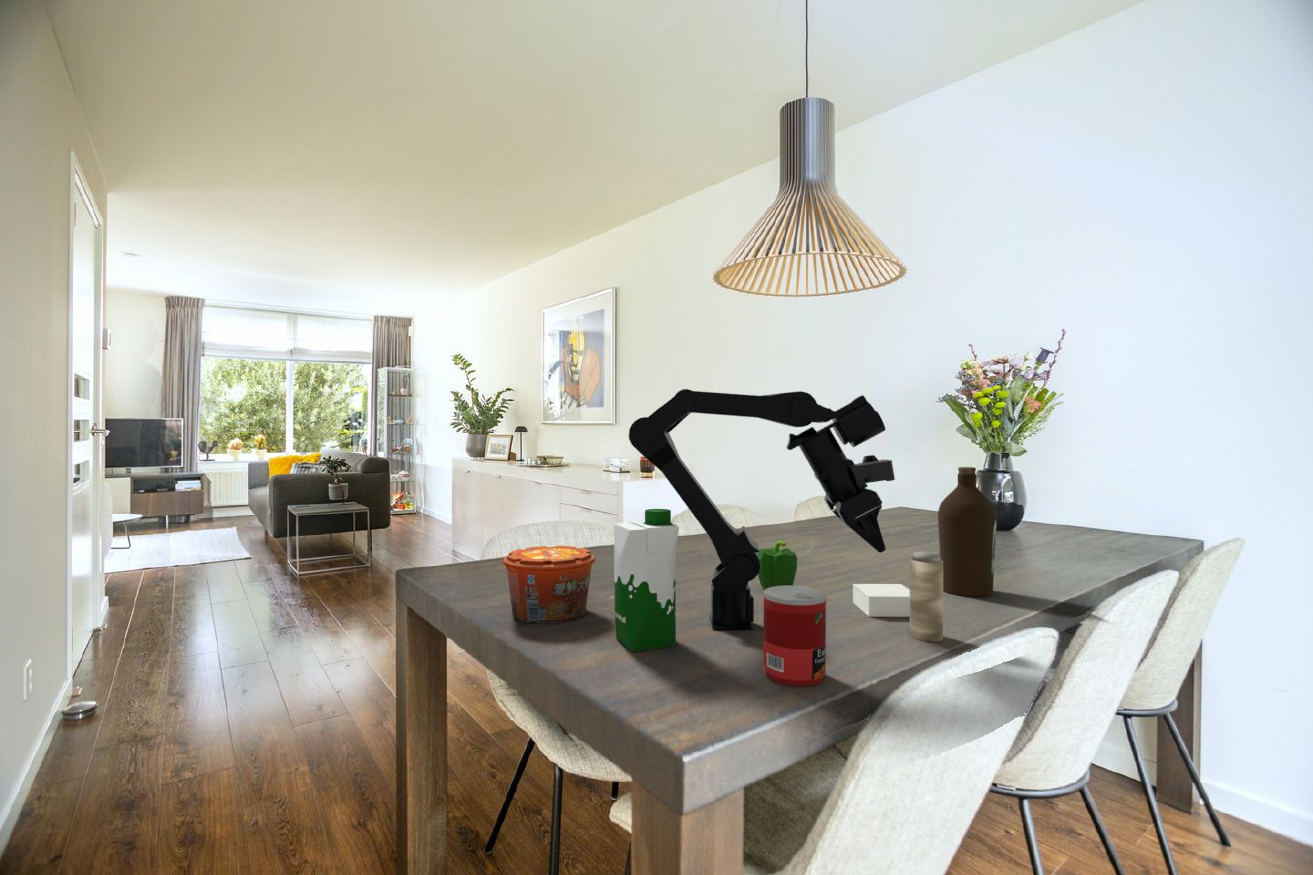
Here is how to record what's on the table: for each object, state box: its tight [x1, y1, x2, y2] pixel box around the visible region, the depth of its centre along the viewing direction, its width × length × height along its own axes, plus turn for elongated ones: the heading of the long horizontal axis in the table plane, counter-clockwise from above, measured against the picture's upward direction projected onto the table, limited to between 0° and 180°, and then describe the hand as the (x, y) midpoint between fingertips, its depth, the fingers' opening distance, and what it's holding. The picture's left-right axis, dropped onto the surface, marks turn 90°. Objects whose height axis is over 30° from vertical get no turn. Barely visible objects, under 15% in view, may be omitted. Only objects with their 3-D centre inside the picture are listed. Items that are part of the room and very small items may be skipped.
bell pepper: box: [757, 540, 798, 590], centre depth 128 cm, size 8×8×10 cm
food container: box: [502, 545, 596, 624], centre depth 110 cm, size 16×16×11 cm
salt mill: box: [909, 550, 944, 643], centre depth 97 cm, size 5×5×13 cm
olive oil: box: [937, 466, 998, 598], centre depth 125 cm, size 11×11×25 cm
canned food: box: [763, 585, 827, 688], centre depth 82 cm, size 8×8×11 cm
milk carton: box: [613, 508, 680, 653], centre depth 95 cm, size 9×9×20 cm
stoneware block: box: [852, 583, 910, 618], centre depth 112 cm, size 9×9×4 cm
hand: (876, 546), depth 100 cm, fingers open, 9 cm apart
